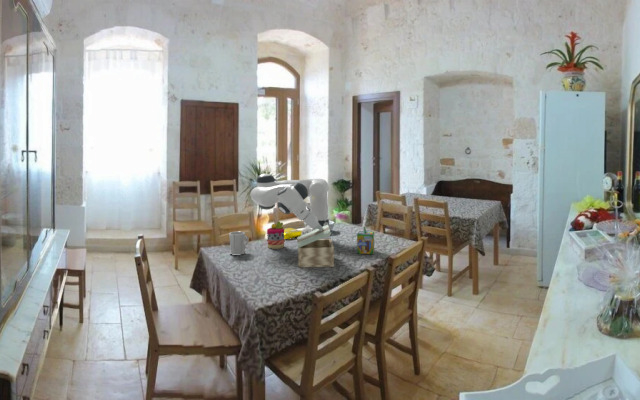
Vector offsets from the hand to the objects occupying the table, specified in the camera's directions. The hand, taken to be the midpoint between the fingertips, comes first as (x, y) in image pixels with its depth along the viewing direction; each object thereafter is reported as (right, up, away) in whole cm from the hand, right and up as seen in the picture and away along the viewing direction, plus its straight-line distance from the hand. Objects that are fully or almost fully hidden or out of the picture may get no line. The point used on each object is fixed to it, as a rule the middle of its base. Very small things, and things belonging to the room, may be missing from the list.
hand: (322, 230), depth 243 cm
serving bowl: (-2, -7, +80) cm, 80 cm away
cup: (-47, -15, +20) cm, 54 cm away
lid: (-4, -4, +1) cm, 6 cm away
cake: (-28, -13, +36) cm, 47 cm away
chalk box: (+25, -14, +22) cm, 36 cm away
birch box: (-4, -17, +2) cm, 17 cm away
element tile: (-22, -9, +65) cm, 69 cm away
